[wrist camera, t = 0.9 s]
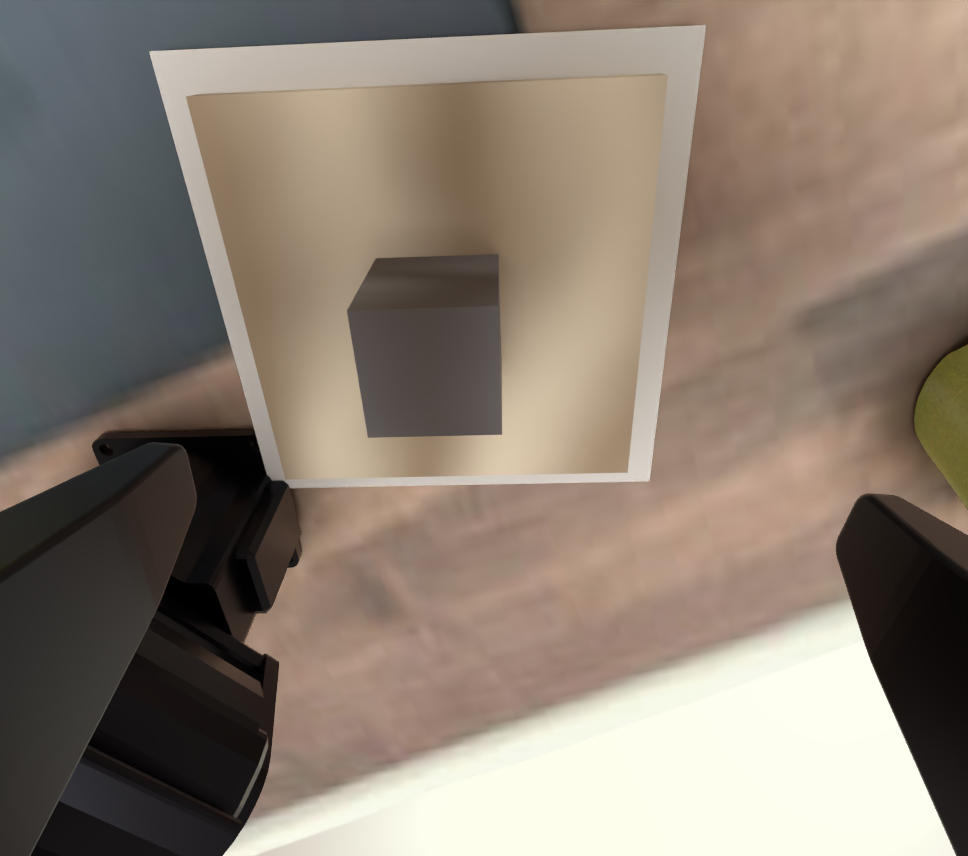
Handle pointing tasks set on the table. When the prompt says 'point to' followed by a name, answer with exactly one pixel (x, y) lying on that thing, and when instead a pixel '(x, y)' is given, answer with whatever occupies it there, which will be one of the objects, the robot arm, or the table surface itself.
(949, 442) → the plant pot
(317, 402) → the lid
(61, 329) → the table surface
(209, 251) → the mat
